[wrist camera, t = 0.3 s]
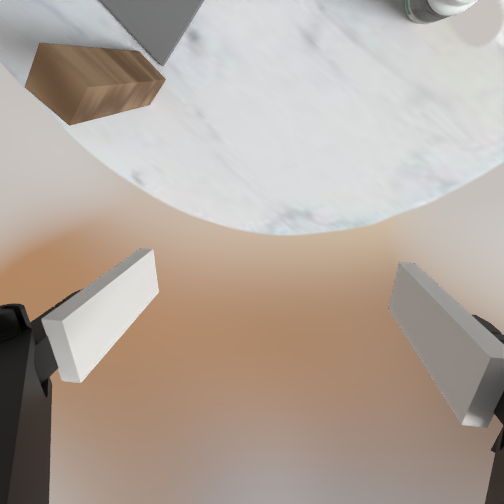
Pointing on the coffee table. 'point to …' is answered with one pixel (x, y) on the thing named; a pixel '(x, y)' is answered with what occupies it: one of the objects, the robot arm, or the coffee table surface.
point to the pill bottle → (435, 9)
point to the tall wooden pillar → (91, 81)
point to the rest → (155, 22)
